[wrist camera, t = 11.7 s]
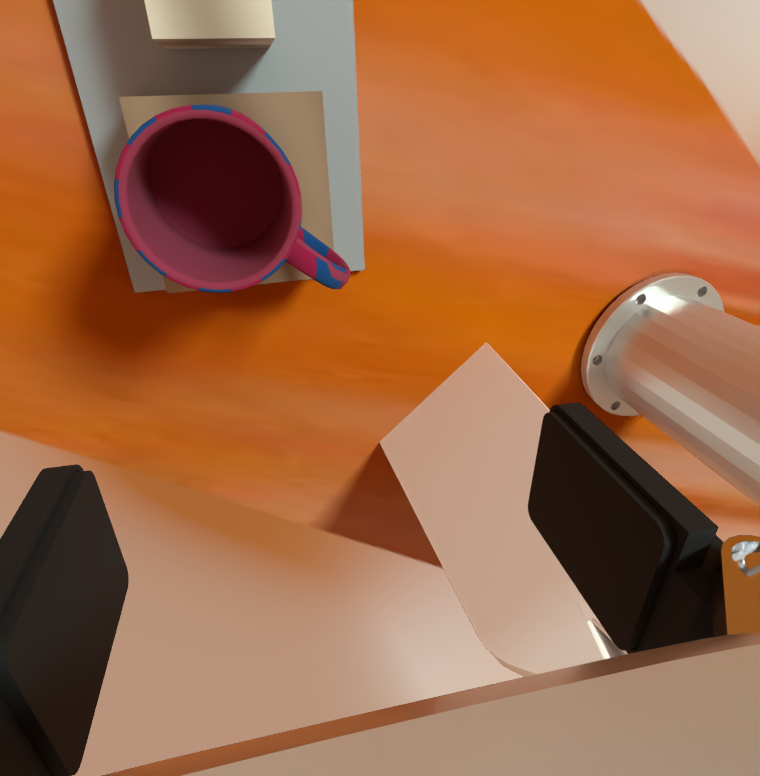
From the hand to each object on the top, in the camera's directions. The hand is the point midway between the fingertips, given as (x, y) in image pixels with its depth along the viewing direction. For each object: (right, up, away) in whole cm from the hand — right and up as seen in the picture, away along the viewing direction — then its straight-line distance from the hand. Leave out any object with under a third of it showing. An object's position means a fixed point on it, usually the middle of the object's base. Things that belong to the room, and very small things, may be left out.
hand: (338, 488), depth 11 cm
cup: (-6, +11, +15) cm, 20 cm away
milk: (+9, -2, +32) cm, 33 cm away
